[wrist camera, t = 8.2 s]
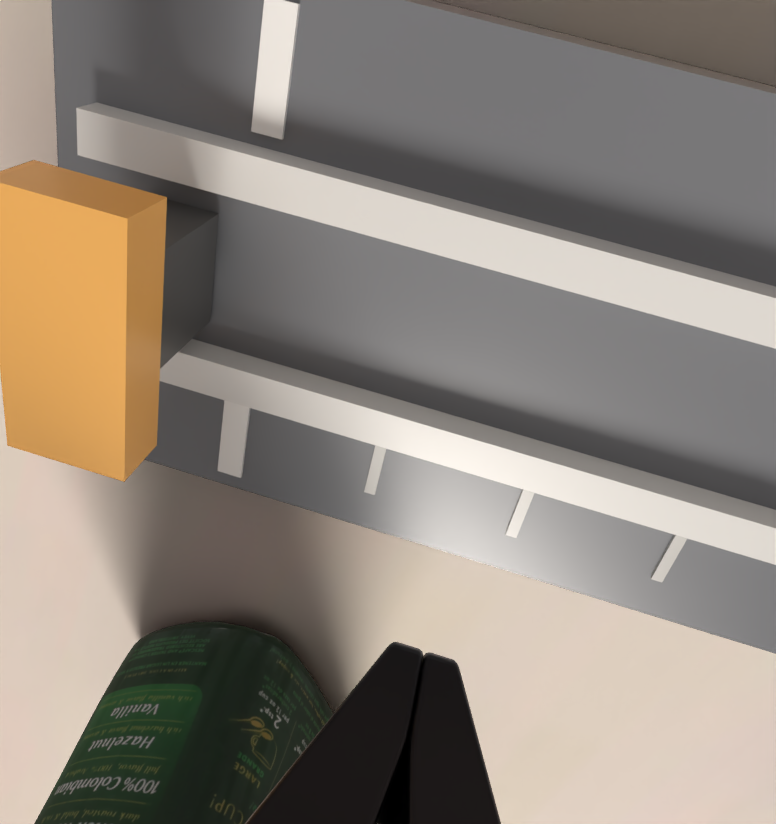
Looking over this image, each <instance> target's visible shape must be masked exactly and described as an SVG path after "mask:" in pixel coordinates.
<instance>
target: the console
mask: <svg viewBox="0 0 776 824" xmlns="http://www.w3.org/2000/svg"><path fill="white" fill-rule="evenodd" d="M52 23H53V48H54V74H55V99H56V125H57V150H58V167H61V168H64V169H68V170H72V171H75V172H79V173H82V174H86V175H89V176H93V177H97V178H100V179H104V180H107V181H111V182H115V183H118V184H122V185H125V186H129V187H132V188H136V189H140V190H143V191H147V192H150V193H154V194H158V195H161V196H165V197H167V199H168V200H172V201H175V202H179V203H182V204H186V205H189V206H193V207H197V208H200V209H204V210H207V211H211V212H214V213H218V214H219V217H218V230H217V242H216V254H215V267H214V279H213V292H212V304H211V316H210V322H209V323H208V324H207V325H206V326H205V327H204V328H203V329H202V330H200V331H199V332H198V333H197V334H196V335H195V336H194V337H193V338H192V339H191V340H190V341H189V342H188V343H187V344H186V345H185V346H184V347H183V348H182V349H181V350H179V351H178V352H177V353H176V354H175V355H174V356H173V357H172V358H171V359H170V360H169V361H168V362H167V363H166V364H165V365H164V366H163V367H162V368H161V369H160V382H159V406H158V430H157V446H156V447H155V448H154V449H153V450H152V451H151V452H150V453H149V455H148V456H147V457H146V458H145V459H144V460H148V461H151V462H154V463H157V464H161V465H164V466H167V467H170V468H174V469H177V470H180V471H184V472H187V473H190V474H193V475H197V476H200V477H203V478H206V479H210V480H213V481H216V482H219V483H223V484H226V485H229V486H232V487H236V488H239V489H242V490H245V491H249V492H252V493H255V494H258V495H262V496H265V497H268V498H271V499H275V500H278V501H281V502H284V503H288V504H291V505H294V506H297V507H301V508H304V509H307V510H310V511H314V512H317V513H320V514H323V515H327V516H330V517H333V518H336V519H340V520H343V521H346V522H349V523H353V524H356V525H359V526H362V527H366V528H369V529H372V530H375V531H379V532H382V533H385V534H388V535H392V536H395V537H398V538H401V539H405V540H408V541H411V542H414V543H418V544H421V545H424V546H427V547H431V548H434V549H437V550H440V551H444V552H447V553H450V554H453V555H457V556H460V557H463V558H466V559H470V560H473V561H476V562H480V563H483V564H486V565H489V566H493V567H496V568H499V569H502V570H506V571H509V572H512V573H515V574H519V575H522V576H525V577H528V578H532V579H535V580H538V581H541V582H545V583H548V584H551V585H554V586H558V587H561V588H564V589H567V590H571V591H574V592H577V593H580V594H584V595H587V596H590V597H593V598H597V599H600V600H603V601H606V602H610V603H613V604H616V605H619V606H623V607H626V608H629V609H632V610H636V611H639V612H642V613H645V614H649V615H652V616H655V617H658V618H662V619H665V620H668V621H671V622H675V623H678V624H681V625H684V626H688V627H691V628H694V629H697V630H701V631H704V632H707V633H710V634H714V635H717V636H720V637H723V638H727V639H730V640H733V641H736V642H740V643H743V644H746V645H749V646H753V647H756V648H759V649H762V650H766V651H769V652H772V653H776V87H775V86H771V85H767V84H763V83H759V82H755V81H751V80H747V79H743V78H739V77H735V76H731V75H727V74H723V73H719V72H715V71H711V70H707V69H703V68H699V67H695V66H691V65H687V64H683V63H679V62H675V61H671V60H667V59H663V58H659V57H655V56H651V55H647V54H643V53H639V52H635V51H631V50H627V49H623V48H619V47H615V46H612V45H608V44H604V43H600V42H596V41H592V40H588V39H584V38H580V37H576V36H572V35H568V34H564V33H560V32H556V31H552V30H548V29H544V28H540V27H536V26H532V25H528V24H524V23H520V22H516V21H512V20H508V19H504V18H500V17H496V16H492V15H488V14H484V13H480V12H476V11H472V10H468V9H464V8H460V7H456V6H452V5H448V4H444V3H441V2H437V1H433V0H52Z"/></svg>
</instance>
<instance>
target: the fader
mask: <svg viewBox="0 0 776 824" xmlns="http://www.w3.org/2000/svg"><path fill="white" fill-rule="evenodd" d="M218 217H219V214H218V213H214V212H211V211H207V210H204V209H200V208H197V207H193V206H189V205H186V204H182V203H179V202H175V201H172V200H168V199H167V197H165V196H161V195H158V194H154V193H150V192H147V191H143V190H140V189H136V188H132V187H129V186H125V185H122V184H118V183H115V182H111V181H107V180H104V179H100V178H97V177H93V176H89V175H86V174H82V173H79V172H75V171H72V170H68V169H64V168H61V167H57V166H54V165H50V164H46V163H43V162H39V161H36V160H32V161H29V162H26V163H23V164H20V165H17V166H14V167H12V168H9V169H6V170H3V171H0V372H1V382H2V393H3V403H4V414H5V424H6V435H7V445H8V446H11V447H14V448H17V449H20V450H24V451H27V452H30V453H33V454H37V455H40V456H43V457H46V458H49V459H53V460H56V461H59V462H62V463H66V464H69V465H72V466H75V467H78V468H82V469H85V470H88V471H91V472H95V473H98V474H101V475H104V476H107V477H111V478H114V479H117V480H120V481H124V482H125V480H126V479H127V478H128V477H129V476H130V475H131V474H132V473H133V471H134V470H135V469H136V468H137V467H138V466H139V465H140V464H141V462H142V461H143V460H144V459H145V458H146V457H147V456H148V455H149V453H150V452H151V451H152V450H153V449H154V448H155V447H156V446H157V430H158V406H159V382H160V369H161V368H162V367H163V366H164V365H165V364H166V363H167V362H168V361H169V360H170V359H171V358H172V357H173V356H174V355H175V354H176V353H177V352H178V351H179V350H181V349H182V348H183V347H184V346H185V345H186V344H187V343H188V342H189V341H190V340H191V339H192V338H193V337H194V336H195V335H196V334H197V333H198V332H199V331H200V330H202V329H203V328H204V327H205V326H206V325H207V324H208V323H209V322H210V316H211V304H212V292H213V279H214V267H215V254H216V242H217V230H218Z"/></svg>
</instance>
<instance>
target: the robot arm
mask: <svg viewBox="0 0 776 824" xmlns="http://www.w3.org/2000/svg"><path fill="white" fill-rule="evenodd" d="M245 824H501V822H500V818H499V814H498V811H497V807H496V803H495V799H494V796H493V792H492V788H491V785H490V781H489V777H488V773H487V770H486V766H485V762H484V759H483V755H482V751H481V747H480V744H479V740H478V736H477V733H476V729H475V725H474V721H473V718H472V714H471V710H470V707H469V703H468V699H467V695H466V692H465V688H464V684H463V681H462V677H461V673H460V670H459V667H458V665H457V663H456V662H455V661H454V660H452V659H449V658H446V657H443V656H440V655H437V654H433V653H426V654H425V655H424V656H423V653H422V651H421V650H420V649H418V648H414V647H411V646H408V645H405V644H402V643H398V642H393V643H391V644H390V645H389V646H388V647H387V648H386V650H385V651H384V652H383V653H382V654H381V656H380V657H379V658H378V659H377V661H376V662H375V663H374V664H373V666H372V667H371V668H370V669H369V671H368V672H367V673H366V674H365V676H364V677H363V678H362V679H361V680H360V682H359V683H358V684H357V685H356V687H355V688H354V689H353V690H352V692H351V693H350V694H349V695H348V697H347V698H346V699H345V700H344V701H343V703H342V704H341V705H340V706H339V708H338V709H337V710H336V711H335V713H334V714H333V715H332V716H331V718H330V719H329V720H328V721H327V722H326V724H325V725H324V726H323V727H322V729H321V730H320V731H319V732H318V734H317V735H316V736H315V737H314V739H313V740H312V741H311V742H310V744H309V745H308V746H307V747H306V748H305V750H304V751H303V752H302V753H301V755H300V756H299V757H298V758H297V760H296V761H295V762H294V763H293V765H292V766H291V767H290V768H289V769H288V771H287V772H286V773H285V774H284V776H283V777H282V778H281V779H280V781H279V782H278V783H277V784H276V786H275V787H274V788H273V789H272V791H271V792H270V793H269V794H268V795H267V797H266V798H265V799H264V800H263V802H262V803H261V804H260V805H259V807H258V808H257V809H256V810H255V812H254V813H253V814H252V815H251V816H250V818H249V819H248V820H247V821H246V823H245Z"/></svg>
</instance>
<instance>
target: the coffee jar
mask: <svg viewBox="0 0 776 824" xmlns="http://www.w3.org/2000/svg"><path fill="white" fill-rule="evenodd" d="M332 715H333V713H332V710H331V709H330V707H329V705H328V704H327V702H326V700H325V698H324V696H323V695H322V693H321V691H320V689H319V688H318V686H317V684H316V683H315V681H314V680H313V678H312V677H311V675H310V674H309V672H308V671H307V669H306V668H305V667H304V665H303V664H302V663H301V661H300V660H299V658H298V657H297V656H296V655H295V654H294V652H293V651H292V650H291V649H290V648H289V647H288V646H287V645H286V644H284V643H283V642H282V641H281V640H279V639H278V638H276V637H274V636H272V635H269V634H266V633H263V632H260V631H257V630H254V629H251V628H248V627H245V626H240V625H233V624H228V623H224V622H192V623H187V624H180V625H175V626H171V627H167V628H164V629H161V630H159V631H156V632H153V633H150V634H149V635H147V636H145V637H144V638H142V639H140V640H139V641H138V642H137V643H136V644H135V645H134V646H133V648H132V649H131V650H130V652H129V653H128V655H127V656H126V658H125V660H124V661H123V663H122V664H121V666H120V668H119V669H118V671H117V673H116V674H115V676H114V678H113V679H112V681H111V683H110V685H109V686H108V688H107V690H106V692H105V693H104V695H103V697H102V699H101V700H100V702H99V704H98V706H97V708H96V709H95V711H94V713H93V715H92V717H91V719H90V721H89V722H88V724H87V726H86V728H85V730H84V732H83V734H82V736H81V738H80V740H79V741H78V743H77V745H76V747H75V749H74V751H73V753H72V755H71V757H70V759H69V760H68V762H67V764H66V766H65V768H64V770H63V772H62V774H61V776H60V778H59V780H58V781H57V783H56V785H55V787H54V789H53V791H52V792H51V794H50V796H49V798H48V800H47V802H46V803H45V805H44V807H43V809H42V811H41V813H40V814H39V816H38V818H37V820H36V822H35V824H245V823H246V821H247V820H248V819H249V818H250V816H251V815H252V814H253V813H254V812H255V810H256V809H257V808H258V807H259V805H260V804H261V803H262V802H263V800H264V799H265V798H266V797H267V795H268V794H269V793H270V792H271V791H272V789H273V788H274V787H275V786H276V784H277V783H278V782H279V781H280V779H281V778H282V777H283V776H284V774H285V773H286V772H287V771H288V769H289V768H290V767H291V766H292V765H293V763H294V762H295V761H296V760H297V758H298V757H299V756H300V755H301V753H302V752H303V751H304V750H305V748H306V747H307V746H308V745H309V744H310V742H311V741H312V740H313V739H314V737H315V736H316V735H317V734H318V732H319V731H320V730H321V729H322V727H323V726H324V725H325V724H326V722H327V721H328V720H329V719H330V718H331V716H332Z"/></svg>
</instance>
